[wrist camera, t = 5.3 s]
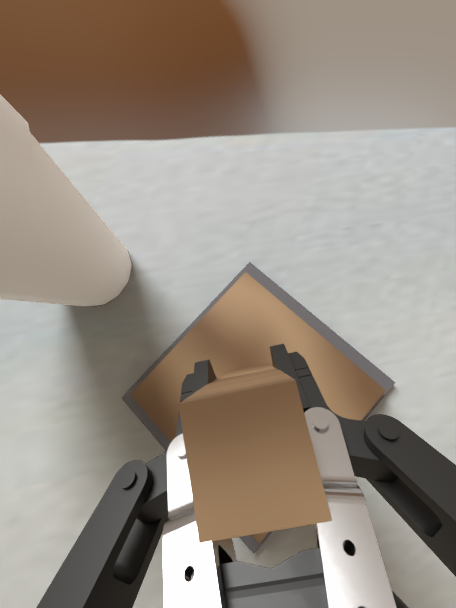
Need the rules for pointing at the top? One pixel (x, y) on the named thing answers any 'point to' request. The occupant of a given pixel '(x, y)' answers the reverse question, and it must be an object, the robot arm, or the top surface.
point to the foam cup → (50, 229)
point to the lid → (252, 414)
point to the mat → (299, 311)
